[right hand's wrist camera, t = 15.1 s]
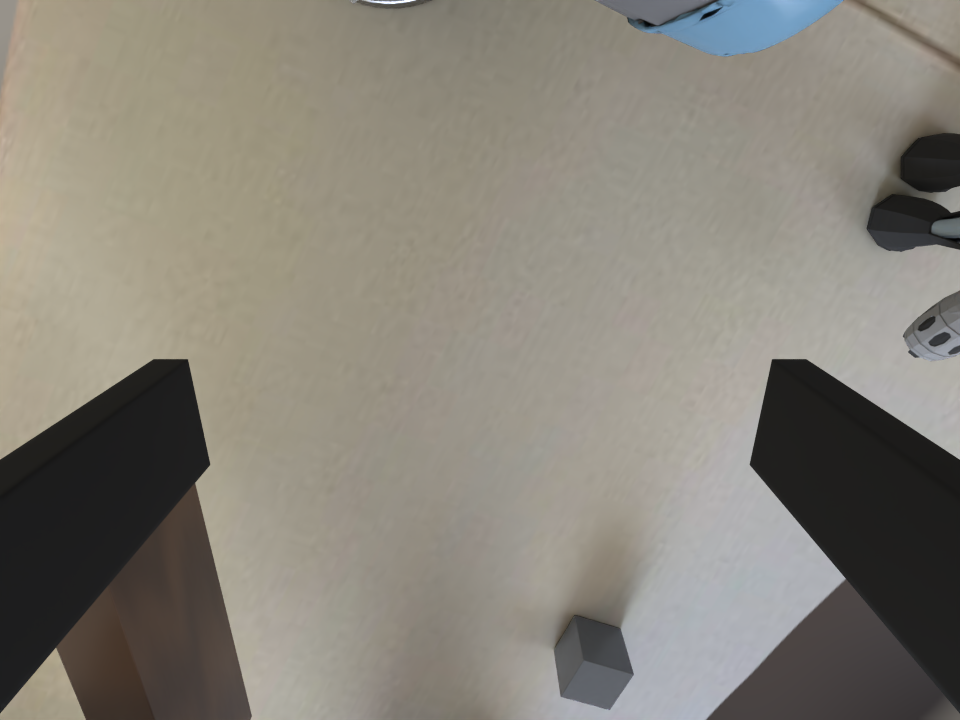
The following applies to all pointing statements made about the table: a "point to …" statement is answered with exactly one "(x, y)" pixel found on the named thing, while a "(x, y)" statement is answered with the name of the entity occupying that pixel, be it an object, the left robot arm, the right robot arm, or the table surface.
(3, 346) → the table surface
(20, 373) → the table surface
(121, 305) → the table surface
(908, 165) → the robot
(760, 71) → the table surface
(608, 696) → the grey cube
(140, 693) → the plank
